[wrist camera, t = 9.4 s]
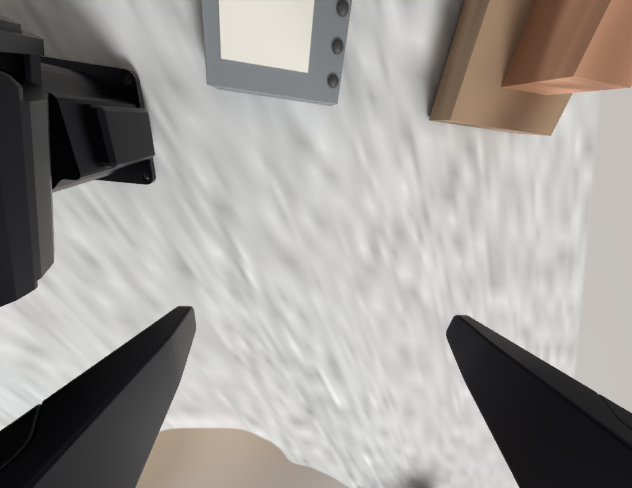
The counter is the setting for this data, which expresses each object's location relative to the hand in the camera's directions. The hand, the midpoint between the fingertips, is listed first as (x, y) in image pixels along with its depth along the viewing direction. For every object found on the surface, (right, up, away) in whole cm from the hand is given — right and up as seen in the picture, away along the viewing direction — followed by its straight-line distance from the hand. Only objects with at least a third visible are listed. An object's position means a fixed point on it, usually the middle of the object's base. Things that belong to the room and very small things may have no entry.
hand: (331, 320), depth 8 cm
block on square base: (+11, +14, +7) cm, 20 cm away
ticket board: (-2, +15, +5) cm, 17 cm away
